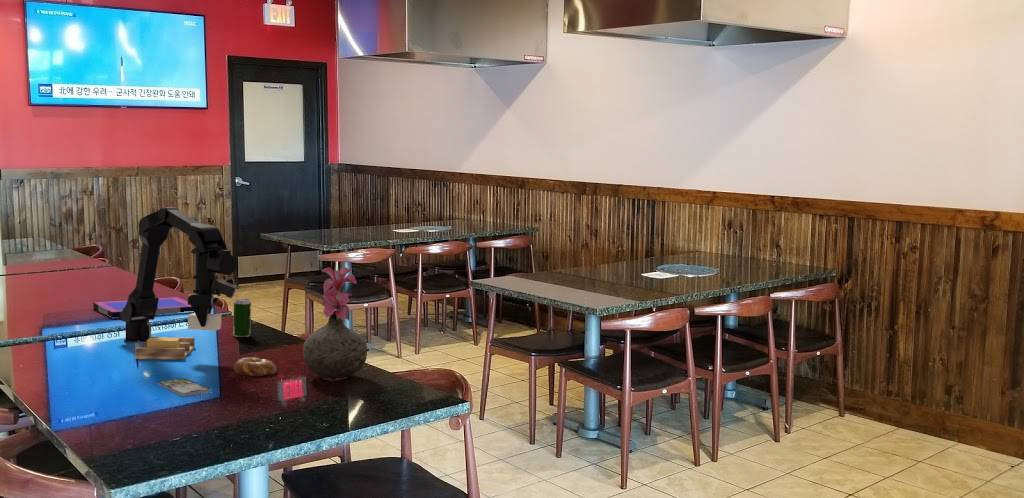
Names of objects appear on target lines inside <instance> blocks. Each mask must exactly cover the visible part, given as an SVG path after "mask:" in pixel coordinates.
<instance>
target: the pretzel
mask: <svg viewBox="0 0 1024 498" xmlns="http://www.w3.org/2000/svg"><path fill="white" fill-rule="evenodd" d="M233 366H234V367H233V370H234V372H235V373H236V375H240V376H251V377H253V376H256V377H261V376H266V375H267V376H271V375H275V374H276V373H277V367H276V364H275V362H274V361H271V360H269V359H266V358H262V359H261V358H260V357H251V356H250V357H249V356H248V357H242V358H239V359H238V360H236V361H235V363H234V365H233Z"/></svg>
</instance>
